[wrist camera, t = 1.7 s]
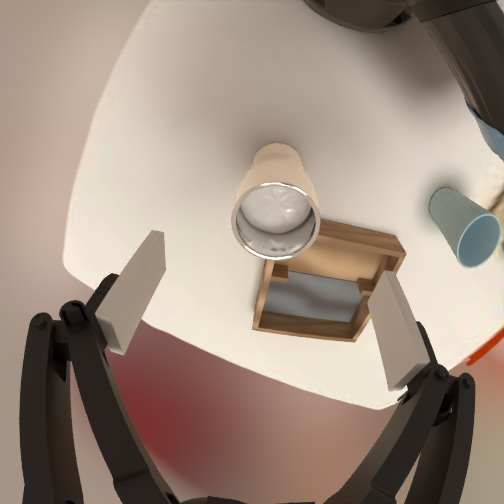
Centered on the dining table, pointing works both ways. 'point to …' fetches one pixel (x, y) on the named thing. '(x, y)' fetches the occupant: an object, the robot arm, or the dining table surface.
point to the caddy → (326, 284)
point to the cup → (465, 227)
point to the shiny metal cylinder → (276, 205)
